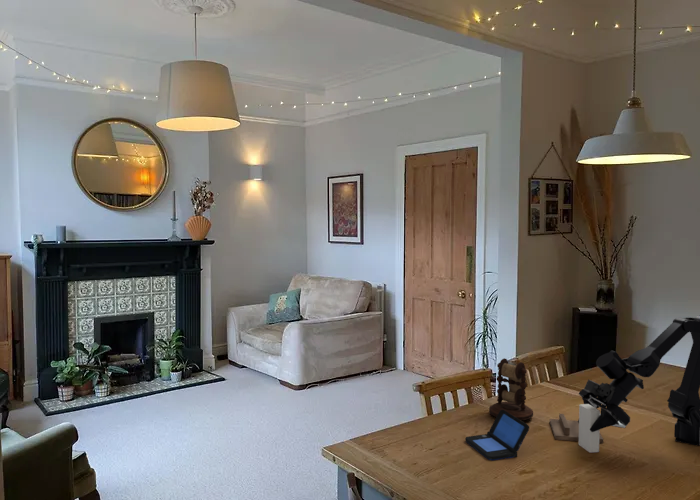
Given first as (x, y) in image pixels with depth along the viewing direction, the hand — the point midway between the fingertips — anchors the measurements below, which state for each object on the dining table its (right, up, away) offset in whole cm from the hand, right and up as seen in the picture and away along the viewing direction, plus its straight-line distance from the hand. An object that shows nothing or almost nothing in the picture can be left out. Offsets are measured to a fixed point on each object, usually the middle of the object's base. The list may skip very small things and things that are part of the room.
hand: (584, 426), depth 171 cm
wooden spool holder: (-14, -5, +27) cm, 31 cm away
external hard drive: (+17, -6, +23) cm, 29 cm away
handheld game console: (-26, -7, +1) cm, 27 cm away
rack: (+2, -6, +13) cm, 15 cm away
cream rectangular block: (+1, -7, +1) cm, 7 cm away
